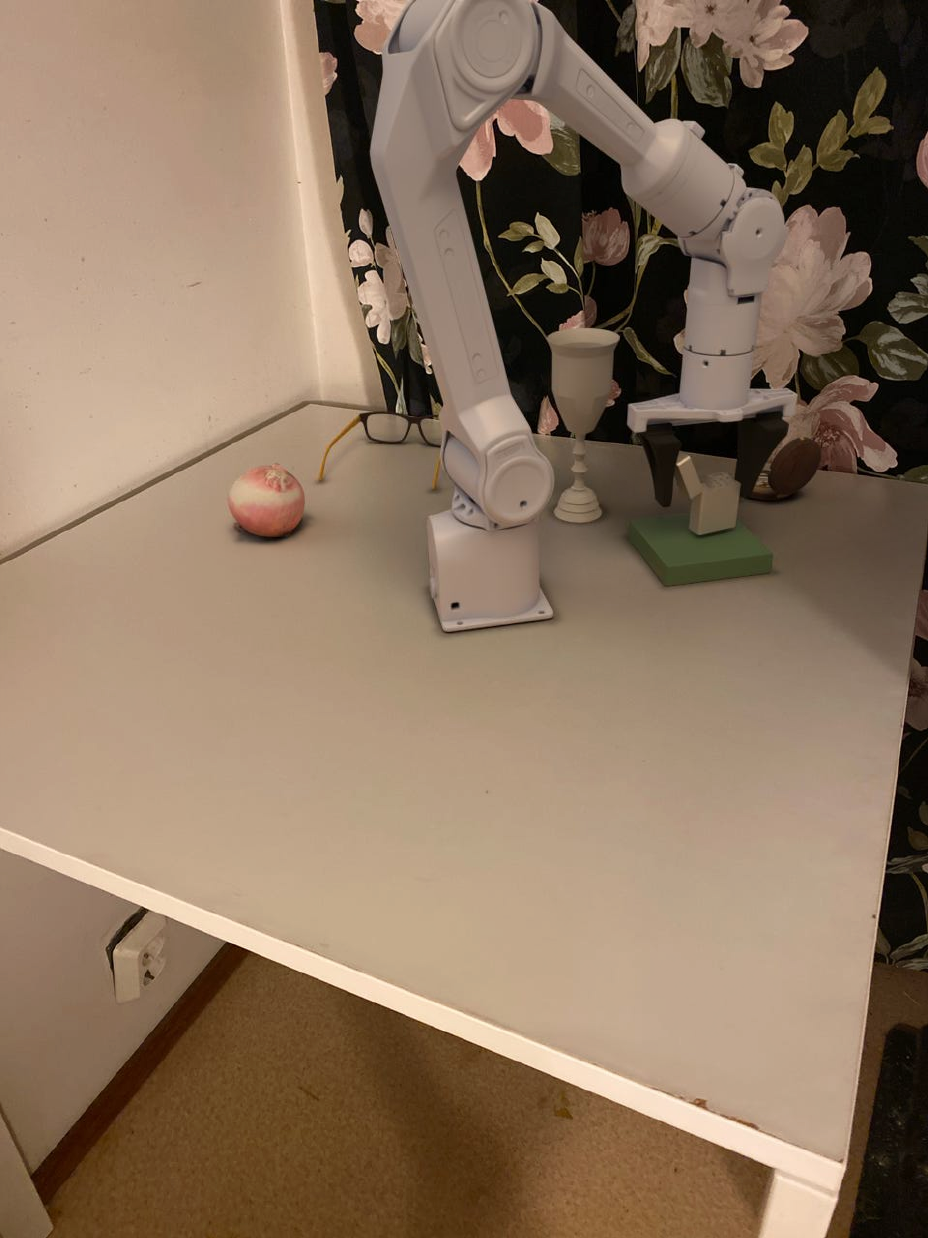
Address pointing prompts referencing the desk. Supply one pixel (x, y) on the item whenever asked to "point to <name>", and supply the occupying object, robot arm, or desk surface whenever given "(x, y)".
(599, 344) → the chalice
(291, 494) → the onion
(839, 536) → the desk surface
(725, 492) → the lighter
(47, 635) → the desk surface
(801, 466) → the compass
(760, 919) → the desk surface
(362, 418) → the eyeglasses
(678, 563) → the block
